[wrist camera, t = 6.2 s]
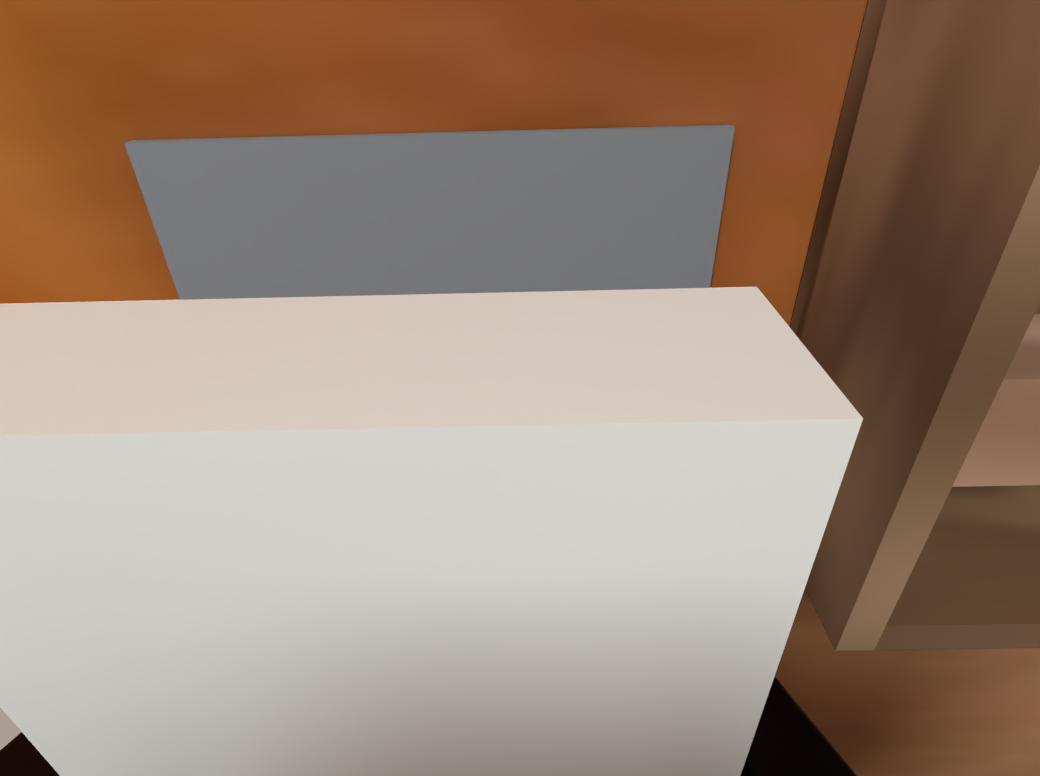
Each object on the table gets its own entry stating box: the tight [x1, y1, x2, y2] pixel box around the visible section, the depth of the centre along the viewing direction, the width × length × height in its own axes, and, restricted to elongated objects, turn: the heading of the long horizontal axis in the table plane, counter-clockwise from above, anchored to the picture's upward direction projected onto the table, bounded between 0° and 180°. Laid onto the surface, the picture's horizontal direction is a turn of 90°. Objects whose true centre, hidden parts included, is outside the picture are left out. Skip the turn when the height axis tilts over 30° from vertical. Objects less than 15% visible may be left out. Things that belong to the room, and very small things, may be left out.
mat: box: [125, 125, 735, 300], centre depth 12 cm, size 12×9×1 cm
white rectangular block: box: [0, 287, 863, 776], centre depth 8 cm, size 11×7×3 cm, turn 1°
